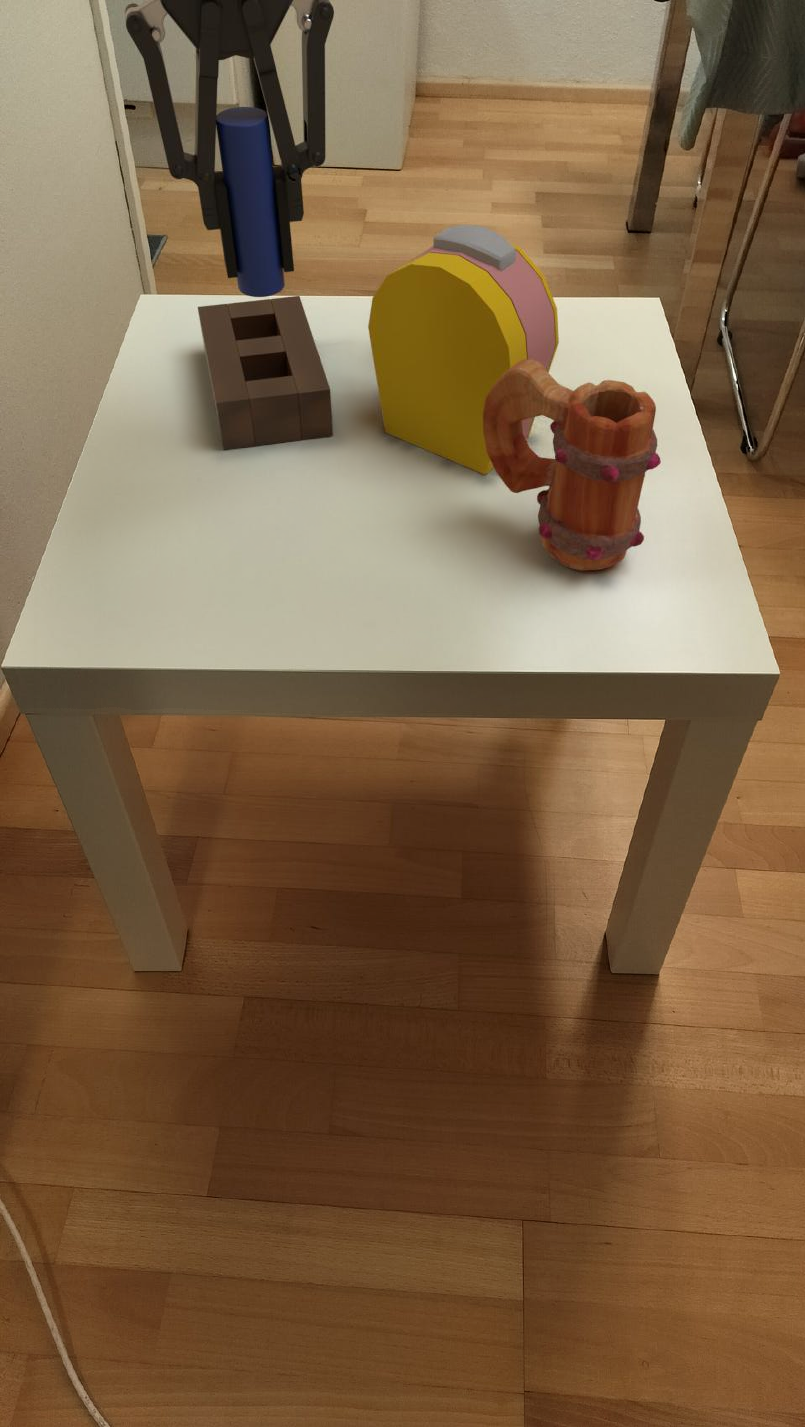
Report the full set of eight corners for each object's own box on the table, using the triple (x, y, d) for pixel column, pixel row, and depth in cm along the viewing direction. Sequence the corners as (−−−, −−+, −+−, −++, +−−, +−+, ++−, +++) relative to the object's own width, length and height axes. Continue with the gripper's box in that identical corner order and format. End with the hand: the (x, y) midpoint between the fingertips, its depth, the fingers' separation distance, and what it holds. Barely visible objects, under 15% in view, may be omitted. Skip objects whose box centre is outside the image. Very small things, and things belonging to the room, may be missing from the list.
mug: (655, 543, 85) (694, 383, 73) (615, 598, 80) (650, 438, 69) (503, 486, 90) (518, 328, 78) (457, 535, 85) (466, 376, 74)
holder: (223, 450, 93) (215, 403, 89) (204, 352, 104) (197, 306, 101) (333, 436, 95) (330, 388, 91) (303, 340, 106) (299, 295, 102)
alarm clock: (548, 439, 94) (574, 243, 80) (502, 482, 90) (520, 283, 76) (420, 387, 100) (423, 197, 86) (370, 425, 96) (365, 231, 82)
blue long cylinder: (240, 300, 76) (217, 128, 67) (236, 277, 78) (212, 108, 69) (287, 294, 77) (271, 123, 67) (281, 272, 79) (264, 104, 70)
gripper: (342, -149, 62) (357, 233, 80) (68, -135, 60) (147, 255, 78) (364, -122, 57) (375, 278, 75) (67, -106, 55) (151, 302, 73)
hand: (259, 265), depth 76 cm, fingers closed on blue long cylinder, 4 cm apart
